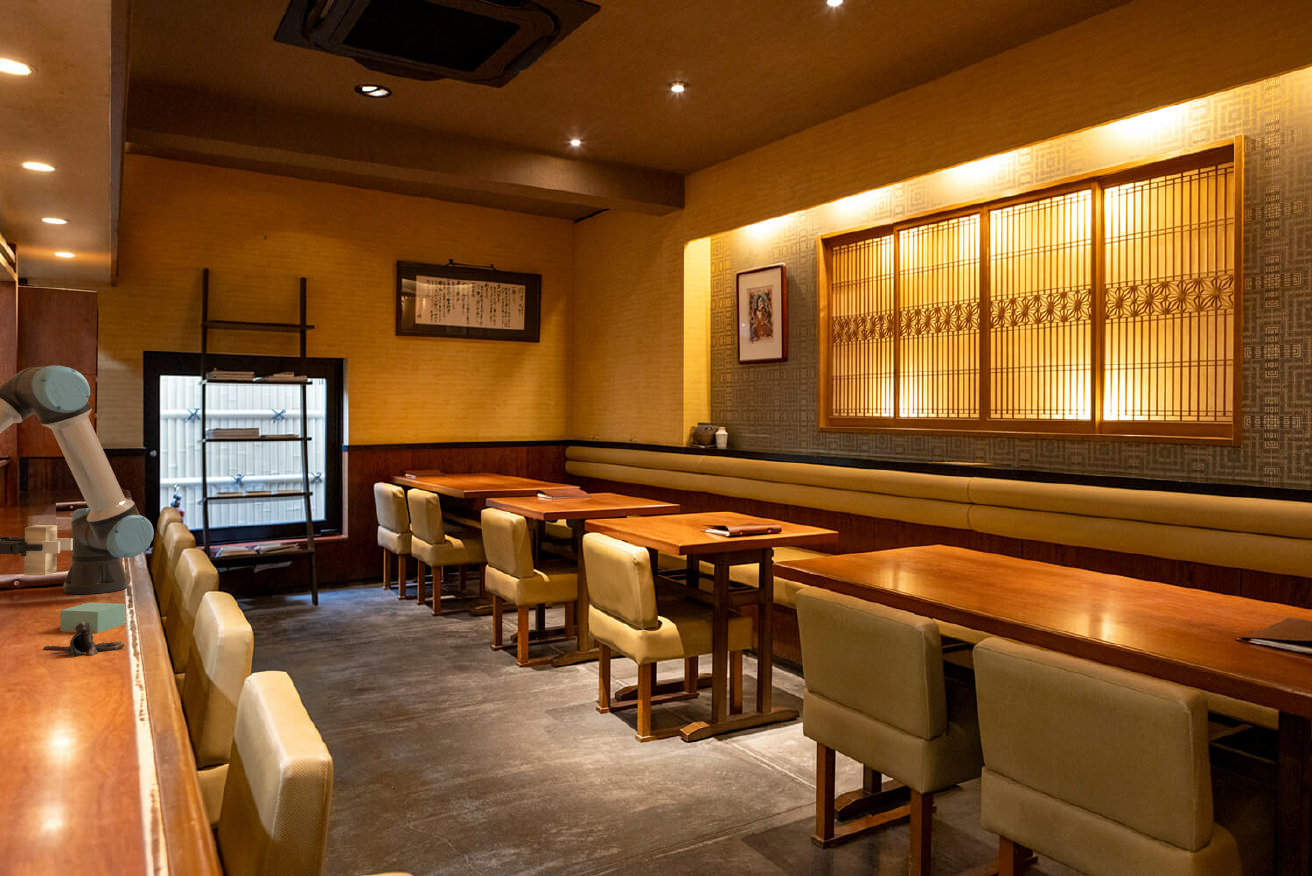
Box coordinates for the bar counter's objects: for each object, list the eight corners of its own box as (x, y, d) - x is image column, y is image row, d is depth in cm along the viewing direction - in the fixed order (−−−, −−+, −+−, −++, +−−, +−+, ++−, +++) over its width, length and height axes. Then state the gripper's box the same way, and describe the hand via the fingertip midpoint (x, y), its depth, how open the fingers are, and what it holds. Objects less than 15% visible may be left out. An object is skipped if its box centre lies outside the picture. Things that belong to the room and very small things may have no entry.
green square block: (89, 623, 208) (89, 602, 208) (125, 625, 207) (125, 604, 207) (60, 632, 199) (60, 610, 199) (97, 634, 198) (97, 611, 198)
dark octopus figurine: (124, 648, 182) (67, 620, 177) (92, 691, 179) (33, 663, 175) (127, 635, 192) (73, 608, 187) (96, 675, 190) (41, 648, 185)
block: (35, 572, 206) (36, 525, 206) (56, 572, 207) (57, 525, 206) (24, 575, 202) (25, 527, 202) (45, 575, 202) (46, 527, 202)
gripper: (-18, 555, 211) (85, 556, 213) (-71, 567, 193) (43, 567, 196) (-18, 524, 211) (86, 525, 213) (-70, 533, 193) (43, 534, 196)
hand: (65, 545), depth 205 cm, fingers closed on block, 4 cm apart
